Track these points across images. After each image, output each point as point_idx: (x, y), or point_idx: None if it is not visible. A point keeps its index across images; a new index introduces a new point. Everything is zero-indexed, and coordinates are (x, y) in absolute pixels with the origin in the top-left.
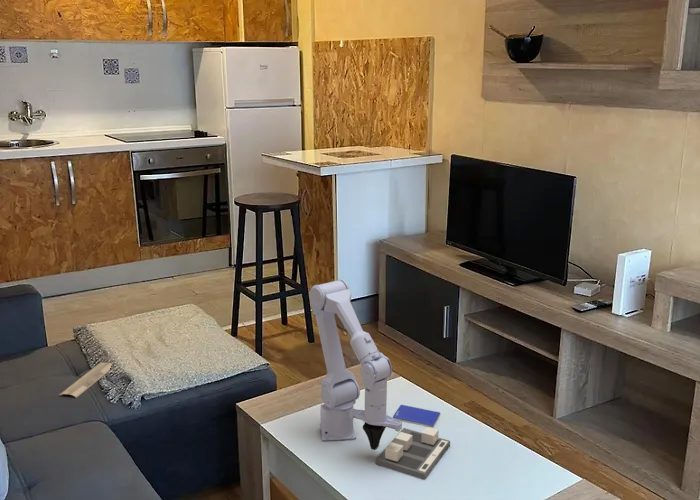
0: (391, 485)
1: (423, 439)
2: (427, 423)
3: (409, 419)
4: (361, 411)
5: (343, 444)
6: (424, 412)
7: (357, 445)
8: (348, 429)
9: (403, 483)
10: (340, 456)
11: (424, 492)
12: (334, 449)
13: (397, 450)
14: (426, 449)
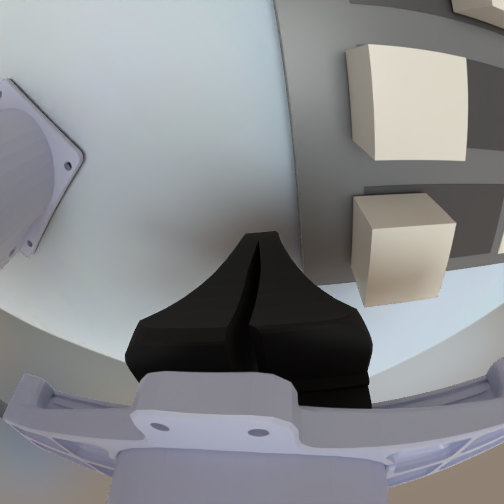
0: (410, 329)
1: (474, 12)
2: None
3: None
4: (67, 449)
5: (84, 224)
6: None
7: (128, 190)
8: (31, 191)
9: (444, 302)
10: (145, 296)
11: (500, 299)
12: (93, 272)
13: (434, 283)
14: (497, 75)
